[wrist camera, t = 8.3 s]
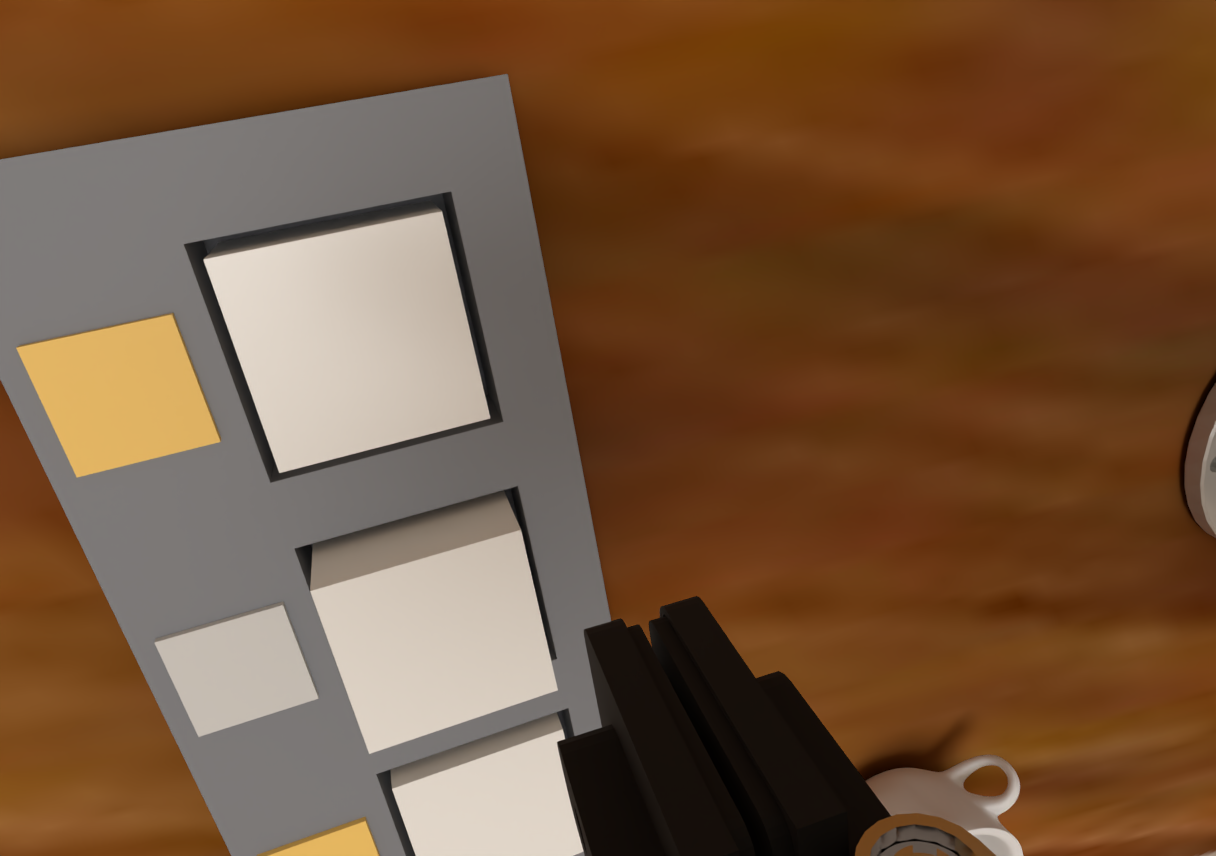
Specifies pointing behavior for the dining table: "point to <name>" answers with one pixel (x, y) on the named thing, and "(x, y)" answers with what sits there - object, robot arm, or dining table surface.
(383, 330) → the end button
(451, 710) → the middle button
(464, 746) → the end button
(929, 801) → the teacup
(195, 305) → the button panel
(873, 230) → the dining table surface
